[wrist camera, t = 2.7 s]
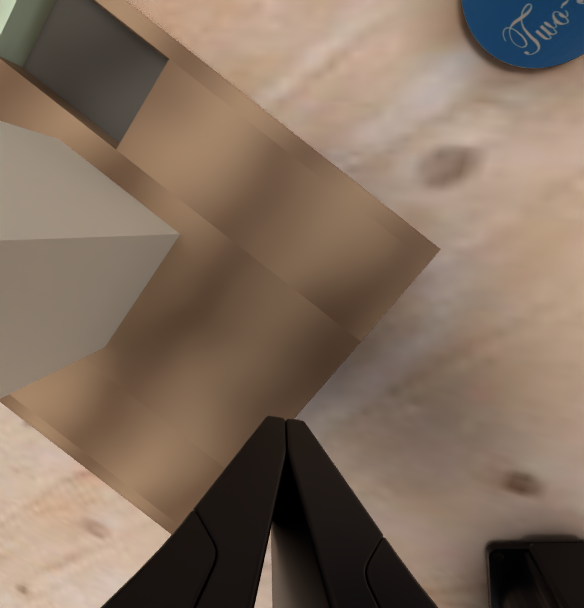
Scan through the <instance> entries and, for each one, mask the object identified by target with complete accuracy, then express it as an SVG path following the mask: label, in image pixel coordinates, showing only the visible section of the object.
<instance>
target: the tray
mask: <svg viewBox="0 0 584 608" xmlns="http://www.w3.org/2000/svg"><path fill="white" fill-rule="evenodd" d="M0 121H3V122H6V123H9V124H12V125H15V126H19V127H22V128H25V129H28V130H32V131H35V132H38V133H41V134H44V135H48V136H51V137H54V138H57V139H60V140H61V141H62V142H63V143H65V144H66V145H67V146H69V147H70V148H71V149H72V150H74V151H75V152H76V153H78V154H79V155H80V156H81V157H83V158H84V159H85V160H86V161H88V162H89V163H90V164H92V165H93V166H94V167H95V168H97V169H98V170H99V171H101V172H102V173H103V174H104V175H106V176H107V177H108V178H109V179H111V180H112V181H113V182H115V183H116V184H117V185H118V186H120V187H121V188H122V189H123V190H125V191H126V192H127V193H129V194H130V195H131V196H132V197H134V198H135V199H136V200H138V201H139V202H140V203H141V204H143V205H144V206H145V207H146V208H148V209H149V210H150V211H152V212H153V213H154V214H155V215H157V216H158V217H159V218H160V219H162V220H163V221H164V222H166V223H167V224H168V225H169V226H171V227H172V228H173V229H175V230H176V231H177V232H178V233H180V235H179V237H178V238H177V240H176V241H175V243H174V244H173V246H172V247H171V249H170V250H169V252H168V253H167V255H166V256H165V258H164V259H163V261H162V262H161V264H160V265H159V267H158V268H157V270H156V271H155V273H154V274H153V276H152V277H151V279H150V280H149V282H148V283H147V285H146V286H145V288H144V289H143V291H142V292H141V294H140V295H139V297H138V298H137V300H136V301H135V303H134V304H133V306H132V307H131V309H130V310H129V312H128V313H127V315H126V316H125V318H124V319H123V321H122V322H121V324H120V325H119V327H118V328H117V330H116V331H115V333H114V334H113V336H112V337H111V339H110V340H109V342H108V343H107V345H106V346H105V347H104V348H102V349H100V350H98V351H96V352H94V353H92V354H90V355H88V356H86V357H84V358H82V359H80V360H78V361H76V362H74V363H72V364H70V365H68V366H65V367H63V368H61V369H59V370H57V371H55V372H53V373H51V374H49V375H47V376H45V377H43V378H41V379H39V380H37V381H35V382H33V383H31V384H29V385H27V386H25V387H23V388H21V389H19V390H17V391H15V392H13V393H11V394H9V395H7V396H5V397H3V398H1V399H0V402H1V403H2V404H4V405H5V406H6V407H8V408H9V409H10V410H11V411H13V412H14V413H15V414H17V415H18V416H19V417H20V418H22V419H23V420H24V421H26V422H27V423H28V424H30V425H31V426H32V427H33V428H35V429H36V430H37V431H39V432H40V433H41V434H42V435H44V436H45V437H46V438H48V439H49V440H50V441H52V442H53V443H54V444H55V445H57V446H58V447H59V448H61V449H62V450H63V451H64V452H66V453H67V454H68V455H70V456H71V457H72V458H74V459H75V460H76V461H77V462H79V463H80V464H81V465H83V466H84V467H85V468H86V469H88V470H89V471H90V472H92V473H93V474H94V475H96V476H97V477H98V478H99V479H101V480H102V481H103V482H105V483H106V484H107V485H108V486H110V487H111V488H112V489H114V490H115V491H116V492H118V493H119V494H120V495H121V496H123V497H124V498H125V499H127V500H128V501H129V502H130V503H132V504H133V505H134V506H136V507H137V508H138V509H140V510H141V511H142V512H143V513H145V514H146V515H147V516H149V517H150V518H151V519H152V520H154V521H155V522H156V523H158V524H159V525H160V526H162V527H163V528H164V529H165V530H167V531H168V532H169V533H171V534H173V533H174V532H175V530H176V529H177V528H178V527H179V526H180V524H181V523H182V522H183V521H184V519H185V518H186V517H187V516H188V514H189V513H190V512H191V511H193V509H194V507H195V506H196V505H197V503H198V502H199V501H200V499H201V498H202V497H203V496H204V494H205V493H206V492H207V491H208V489H209V488H210V487H211V486H212V484H213V483H214V482H215V481H216V479H217V478H218V477H219V476H220V474H221V473H222V472H223V470H224V469H225V468H226V467H227V465H228V464H229V463H230V462H231V460H232V459H233V458H234V457H235V455H236V454H237V453H238V452H239V450H240V449H241V448H242V446H243V445H244V444H245V443H246V441H247V440H248V439H249V438H250V436H251V435H252V434H253V433H254V431H255V430H256V429H257V428H258V426H259V425H260V424H261V422H262V421H263V420H264V419H265V417H267V416H275V417H282V418H284V419H285V421H286V419H294V418H295V417H296V416H297V415H298V413H299V412H300V411H301V410H302V409H303V408H304V407H305V405H306V404H307V403H308V402H309V401H310V400H311V398H312V397H313V396H314V395H315V394H316V393H317V392H318V390H319V389H320V388H321V387H322V386H323V385H324V383H325V382H326V381H327V380H328V379H329V378H330V377H331V375H332V374H333V373H334V372H335V371H336V370H337V368H338V367H339V366H340V365H341V364H342V363H343V361H344V360H345V359H346V358H347V357H348V356H349V355H350V353H351V352H352V351H353V350H354V349H355V348H356V346H357V345H358V344H359V343H360V342H361V341H362V340H363V338H364V337H365V336H366V335H367V334H368V333H369V331H370V330H371V329H372V328H373V327H374V326H375V325H376V323H377V322H378V321H379V320H380V319H381V318H382V316H383V315H384V314H385V313H386V312H387V311H388V309H389V308H390V307H391V306H392V305H393V304H394V303H395V301H396V300H397V299H398V298H399V297H400V296H401V294H402V293H403V292H404V291H405V290H406V289H407V288H408V286H409V285H410V284H411V283H412V282H413V281H414V279H415V278H416V277H417V276H418V275H419V274H420V273H421V271H422V270H423V269H424V268H425V267H426V266H427V264H428V263H429V262H430V261H431V260H432V259H433V257H434V256H435V255H436V254H437V253H438V252H439V251H440V248H438V247H437V246H436V245H434V244H433V243H432V242H431V241H429V240H428V239H427V238H426V237H424V236H423V235H422V234H421V233H419V232H418V231H417V230H415V229H414V228H413V227H412V226H410V225H409V224H408V223H407V222H405V221H404V220H403V219H402V218H400V217H399V216H398V215H396V214H395V213H394V212H393V211H391V210H390V209H389V208H388V207H386V206H385V205H384V204H383V203H381V202H380V201H379V200H378V199H376V198H375V197H374V196H372V195H371V194H370V193H369V192H367V191H366V190H365V189H364V188H362V187H361V186H360V185H359V184H357V183H356V182H355V181H353V180H352V179H351V178H350V177H348V176H347V175H346V174H345V173H343V172H342V171H341V170H340V169H338V168H337V167H336V166H334V165H333V164H332V163H331V162H329V161H328V160H327V159H326V158H324V157H323V156H322V155H321V154H319V153H318V152H317V151H315V150H314V149H313V148H312V147H310V146H309V145H308V144H307V143H305V142H304V141H303V140H302V139H300V138H299V137H298V136H297V135H295V134H294V133H293V132H291V131H290V130H289V129H288V128H286V127H285V126H284V125H283V124H281V123H280V122H279V121H278V120H276V119H275V118H274V117H272V116H271V115H270V114H269V113H267V112H266V111H265V110H264V109H262V108H261V107H260V106H259V105H257V104H256V103H255V102H253V101H252V100H251V99H250V98H248V97H247V96H246V95H245V94H243V93H242V92H241V91H240V90H238V89H237V88H236V87H234V86H233V85H232V84H231V83H229V82H228V81H227V80H226V79H224V78H223V77H222V76H221V75H219V74H218V73H217V72H216V71H214V70H213V69H212V68H210V67H209V66H208V65H207V64H205V63H204V62H203V61H202V60H200V59H199V58H198V57H197V56H195V55H194V54H193V53H191V52H190V51H189V50H188V49H186V48H185V47H184V46H183V45H181V44H180V43H179V42H178V41H176V40H175V39H174V38H172V37H171V36H170V35H169V34H167V33H166V32H165V31H164V30H162V29H161V28H160V27H159V26H157V25H156V24H155V23H153V22H152V21H151V20H150V19H148V18H147V17H146V16H145V15H143V14H142V13H141V12H140V11H138V10H137V9H136V8H135V7H133V6H132V5H131V4H129V3H128V2H127V1H126V0H0Z"/></svg>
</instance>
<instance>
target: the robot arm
mask: <svg viewBox="0 0 584 608" xmlns="http://www.w3.org/2000/svg"><path fill="white" fill-rule="evenodd" d="M270 530H271V554H272V602H273V608H438V607H437V606H436V604H435V603H434V602H433V601H432V599H431V598H430V597H429V596H428V594H427V593H426V592H425V591H424V589H423V588H422V587H421V586H420V584H419V583H418V582H417V581H416V579H415V578H414V577H413V575H412V574H411V573H410V571H409V570H408V568H407V567H406V566H405V564H404V563H403V562H402V560H401V559H400V558H399V556H398V555H397V553H396V552H395V551H394V549H393V548H392V546H391V545H390V543H389V542H388V541H387V539H386V538H383V534H382V532H381V531H380V529H379V528H378V527H377V525H376V524H375V522H374V521H373V519H372V518H371V516H370V515H369V514H368V512H367V511H366V509H365V508H364V506H363V505H362V504H361V502H360V501H359V499H358V498H357V496H356V495H355V494H354V492H353V491H352V489H351V488H350V486H349V485H348V484H347V482H346V481H345V479H344V478H343V476H342V475H341V474H340V472H339V471H338V469H337V468H336V466H335V465H334V463H333V462H332V461H331V459H330V458H329V456H328V455H327V453H326V452H325V451H324V449H323V448H322V446H321V445H320V443H319V442H318V441H317V439H316V438H315V436H314V435H313V433H312V432H311V431H310V429H309V428H308V426H307V425H306V423H305V422H304V421H301V420H294V419H286V421H285V419H284V418H282V417H275V416H267V417H265V419H264V420H263V421H262V422H261V424H260V425H259V426H258V428H257V429H256V430H255V431H254V433H253V434H252V435H251V436H250V438H249V439H248V440H247V441H246V443H245V444H244V445H243V446H242V448H241V449H240V450H239V452H238V453H237V454H236V455H235V457H234V458H233V459H232V460H231V462H230V463H229V464H228V465H227V467H226V468H225V469H224V470H223V472H222V473H221V474H220V476H219V477H218V478H217V479H216V481H215V482H214V483H213V484H212V486H211V487H210V488H209V489H208V491H207V492H206V493H205V494H204V496H203V497H202V498H201V499H200V501H199V502H198V503H197V505H196V506H195V507H194V509H193V511H191V512H190V513H189V514H188V516H187V517H186V518H185V519H184V521H183V522H182V523H181V524H180V526H179V527H178V528H177V529H176V530H175V532H174V533H173V534H172V535H171V536H170V537H169V539H168V540H167V541H166V542H165V543H164V544H163V546H162V547H161V548H160V549H159V550H158V551H157V552H156V553H155V554H154V555H153V556H152V557H151V558H150V559H149V560H148V561H147V562H146V563H145V564H144V565H143V566H142V567H141V569H140V570H139V571H138V572H137V573H136V574H135V575H134V576H133V577H131V578H130V579H129V580H128V581H127V582H126V583H125V584H124V585H123V586H122V587H121V588H120V589H119V590H118V591H117V592H116V593H115V594H114V595H113V596H112V597H111V598H110V599H109V600H108V601H107V602H106V603H105V604H104V605H103V606H102V607H101V608H254V605H255V601H256V596H257V591H258V587H259V582H260V577H261V572H262V568H263V563H264V558H265V554H266V549H267V544H268V540H269V535H270ZM496 553H500V554H499V555H495V554H496ZM486 559H487V577H488V596H489V608H584V542H533V543H492V544H490V545H489V546H488V547H487V549H486Z"/></svg>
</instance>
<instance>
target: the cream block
mask: <svg viewBox="0 0 584 608" xmlns="http://www.w3.org/2000/svg"><path fill="white" fill-rule="evenodd" d="M179 235H180V233H178V232H177V231H176V230H175V229H173V228H172V227H171V226H169V225H168V224H167V223H166V222H164V221H163V220H162V219H160V218H159V217H158V216H157V215H155V214H154V213H153V212H152V211H150V210H149V209H148V208H146V207H145V206H144V205H143V204H141V203H140V202H139V201H138V200H136V199H135V198H134V197H132V196H131V195H130V194H129V193H127V192H126V191H125V190H123V189H122V188H121V187H120V186H118V185H117V184H116V183H115V182H113V181H112V180H111V179H109V178H108V177H107V176H106V175H104V174H103V173H102V172H101V171H99V170H98V169H97V168H95V167H94V166H93V165H92V164H90V163H89V162H88V161H86V160H85V159H84V158H83V157H81V156H80V155H79V154H78V153H76V152H75V151H74V150H72V149H71V148H70V147H69V146H67V145H66V144H65V143H63V142H62V141H61V140H60V139H57V138H54V137H51V136H48V135H44V134H41V133H38V132H35V131H32V130H28V129H25V128H22V127H19V126H15V125H12V124H9V123H6V122H3V121H0V399H1V398H3V397H5V396H7V395H9V394H11V393H13V392H15V391H17V390H19V389H21V388H23V387H25V386H27V385H29V384H31V383H33V382H35V381H37V380H39V379H41V378H43V377H45V376H47V375H49V374H51V373H53V372H55V371H57V370H59V369H61V368H63V367H65V366H68V365H70V364H72V363H74V362H76V361H78V360H80V359H82V358H84V357H86V356H88V355H90V354H92V353H94V352H96V351H98V350H100V349H102V348H104V347H105V346H106V345H107V343H108V342H109V340H110V339H111V337H112V336H113V334H114V333H115V331H116V330H117V328H118V327H119V325H120V324H121V322H122V321H123V319H124V318H125V316H126V315H127V313H128V312H129V310H130V309H131V307H132V306H133V304H134V303H135V301H136V300H137V298H138V297H139V295H140V294H141V292H142V291H143V289H144V288H145V286H146V285H147V283H148V282H149V280H150V279H151V277H152V276H153V274H154V273H155V271H156V270H157V268H158V267H159V265H160V264H161V262H162V261H163V259H164V258H165V256H166V255H167V253H168V252H169V250H170V249H171V247H172V246H173V244H174V243H175V241H176V240H177V238H178V237H179Z"/></svg>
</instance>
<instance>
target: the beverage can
mask: <svg viewBox="0 0 584 608" xmlns="http://www.w3.org/2000/svg"><path fill="white" fill-rule="evenodd" d="M462 8H463V12H464V16H465V19H466V22H467V24H468V27H469V29H470V31H471V33H472V34H473V36H474V38H475V39H476V40H477V42H478V43H479V44H480V46H481V47H482V48H484V49H485V50H486V51H487V52H488V53H489V54H491V55H492V56H493V57H495V58H496V59H498V60H500V61H502V62H504V63H507V64H510V65H513V66H517V67H523V68H545V67H551V66H555V65H559V64H563V63H565V62H568V61H570V60H573V59H575V58H577V57H579V56H581V55H583V54H584V0H462Z"/></svg>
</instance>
